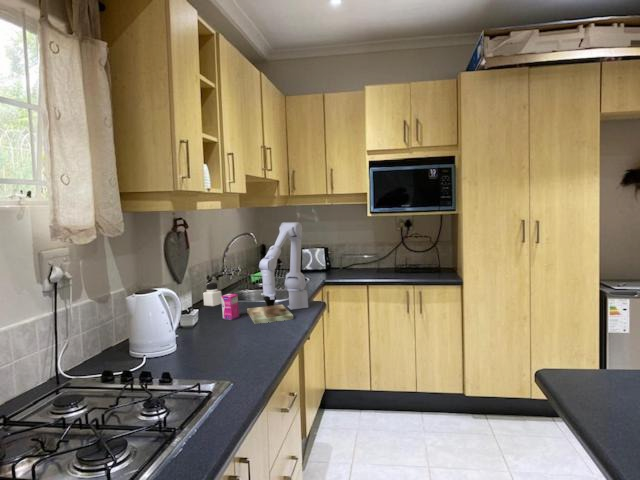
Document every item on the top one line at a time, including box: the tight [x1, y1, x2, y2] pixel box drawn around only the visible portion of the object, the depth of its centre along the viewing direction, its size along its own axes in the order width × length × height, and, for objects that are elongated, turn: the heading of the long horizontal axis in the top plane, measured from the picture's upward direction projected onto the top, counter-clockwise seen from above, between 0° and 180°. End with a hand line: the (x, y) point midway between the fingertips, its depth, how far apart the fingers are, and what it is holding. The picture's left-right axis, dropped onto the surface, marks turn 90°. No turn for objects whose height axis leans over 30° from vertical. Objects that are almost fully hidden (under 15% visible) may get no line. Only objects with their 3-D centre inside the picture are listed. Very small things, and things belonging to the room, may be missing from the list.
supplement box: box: [221, 293, 240, 321], centre depth 221 cm, size 6×6×12 cm
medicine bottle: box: [202, 282, 223, 307], centre depth 254 cm, size 7×7×12 cm
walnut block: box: [263, 304, 280, 318], centre depth 215 cm, size 6×6×4 cm
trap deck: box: [246, 304, 294, 325], centre depth 223 cm, size 18×24×2 cm
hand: (270, 311), depth 220 cm, fingers closed
